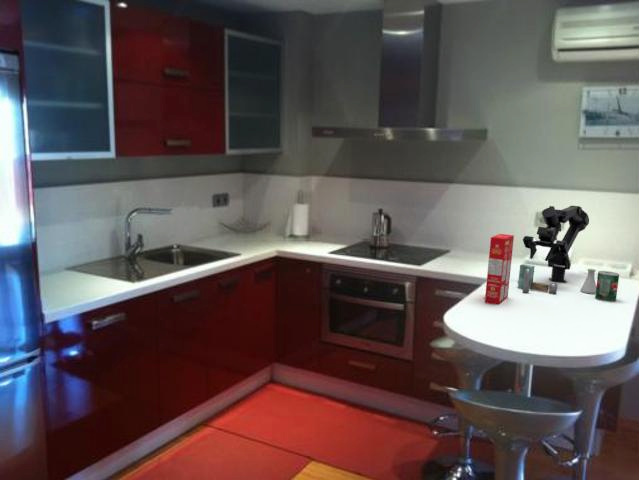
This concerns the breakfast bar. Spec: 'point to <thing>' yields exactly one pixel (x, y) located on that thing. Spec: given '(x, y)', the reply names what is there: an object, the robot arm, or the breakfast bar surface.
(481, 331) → the breakfast bar surface
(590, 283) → the flask
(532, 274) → the gate
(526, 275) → the post
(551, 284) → the hinge post
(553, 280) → the robot arm
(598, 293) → the canned tomato
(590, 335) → the breakfast bar surface
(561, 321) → the breakfast bar surface
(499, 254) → the food packaging
